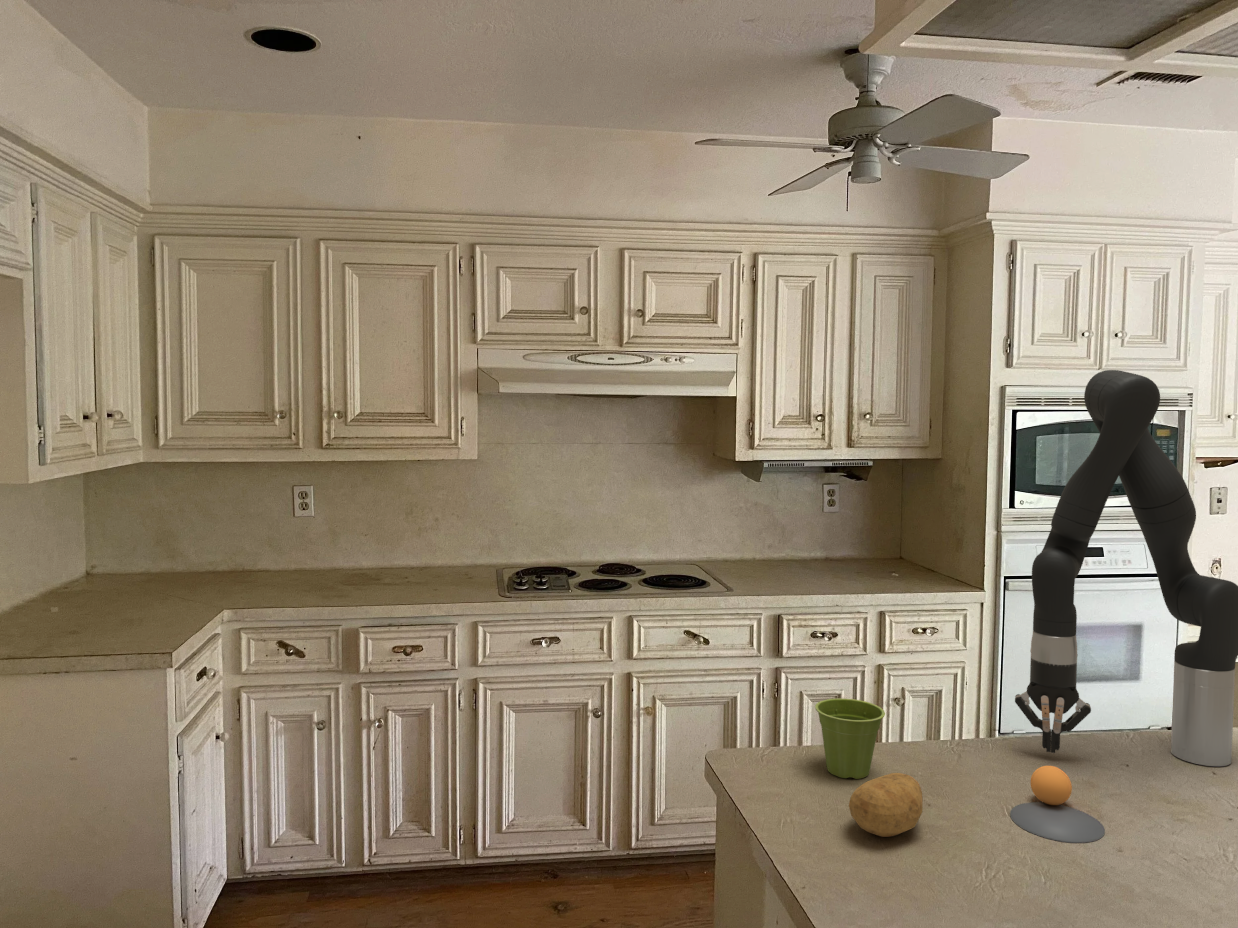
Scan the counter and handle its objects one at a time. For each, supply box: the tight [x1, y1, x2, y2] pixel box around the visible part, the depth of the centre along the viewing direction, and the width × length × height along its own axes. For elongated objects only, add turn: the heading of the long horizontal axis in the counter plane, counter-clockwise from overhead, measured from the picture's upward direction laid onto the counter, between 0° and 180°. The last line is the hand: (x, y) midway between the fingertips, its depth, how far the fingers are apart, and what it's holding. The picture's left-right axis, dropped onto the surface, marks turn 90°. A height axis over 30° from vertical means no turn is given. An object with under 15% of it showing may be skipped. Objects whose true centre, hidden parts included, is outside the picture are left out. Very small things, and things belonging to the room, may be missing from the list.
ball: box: [1030, 765, 1073, 805], centre depth 141 cm, size 6×6×6 cm
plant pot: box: [814, 697, 886, 780], centre depth 153 cm, size 12×12×11 cm
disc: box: [1009, 801, 1105, 844], centre depth 135 cm, size 13×13×1 cm
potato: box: [848, 772, 924, 838], centre depth 132 cm, size 10×14×8 cm
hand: (1050, 750), depth 159 cm, fingers closed
